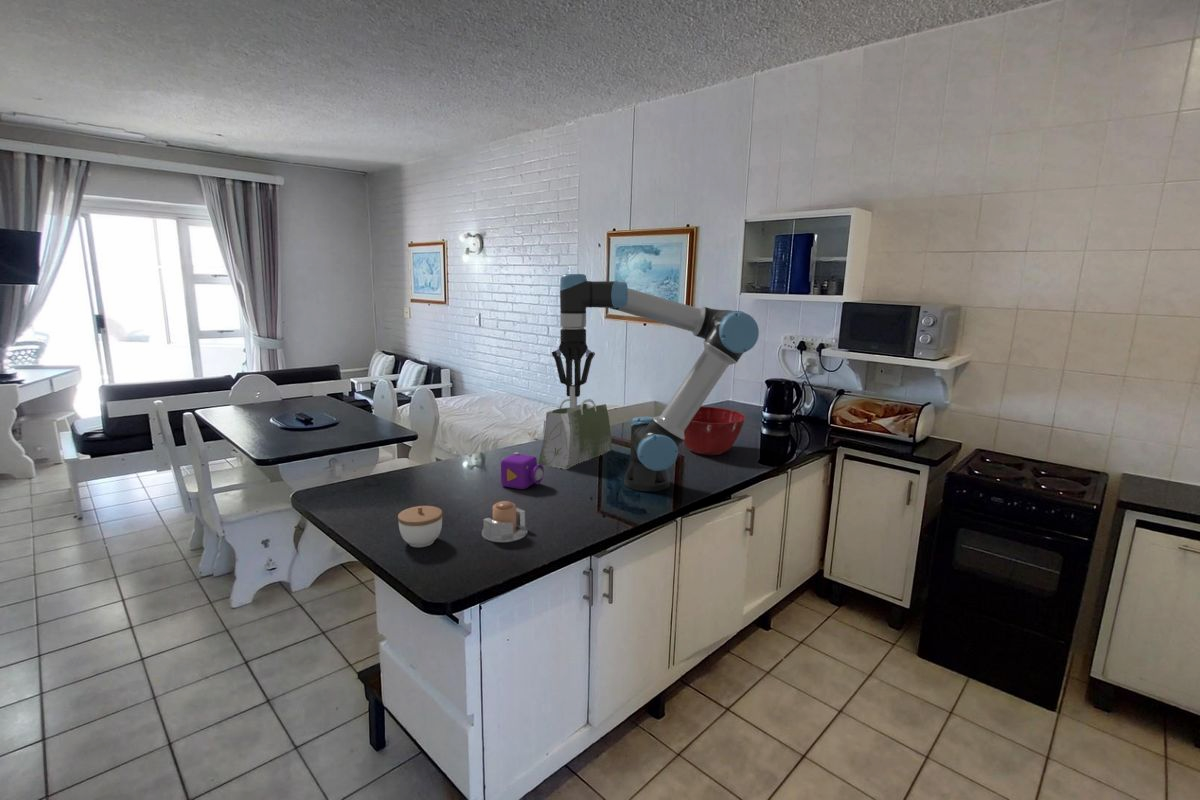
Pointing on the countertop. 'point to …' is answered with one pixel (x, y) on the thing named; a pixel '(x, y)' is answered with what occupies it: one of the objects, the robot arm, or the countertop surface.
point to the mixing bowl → (713, 430)
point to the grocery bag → (575, 435)
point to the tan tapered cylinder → (505, 512)
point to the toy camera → (520, 471)
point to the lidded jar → (420, 525)
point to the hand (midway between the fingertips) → (573, 407)
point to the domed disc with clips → (505, 529)
